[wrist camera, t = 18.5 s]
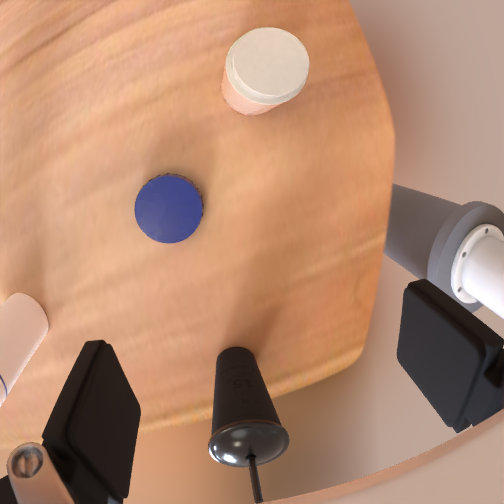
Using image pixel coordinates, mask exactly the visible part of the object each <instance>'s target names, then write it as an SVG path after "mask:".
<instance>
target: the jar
mask: <svg viewBox="0 0 504 504" xmlns="http://www.w3.org/2000/svg"><path fill="white" fill-rule="evenodd" d="M308 72H309V57H308V53H307V51H306V49H305V47H304V45H303V44H302V43H301V41H300V40H299V39H298V38H296V37H295V36H294V35H292V34H291V33H289V32H287V31H285V30H282V29H278V28H272V27H263V28H261V27H260V28H257V29H254V30H250V31H249V32H247V33H246V34H244V35H242V36H241V37H240V38H239V39H237V40H236V41H235V42H234V44H233V45H232V46H231V48H230V49H229V51H228V54H227V57H226V62H225V67H224V72H223V77H222V82H221V91H222V95H223V98H224V100H225V101H226V103H227V104H228V105H229V106H230V107H231V108H232V109H234V110H235V111H237V112H239V113H241V114H245V115H259V114H263V113H265V112H267V111H269V110H271V109H273V108H275V107H277V106H279V105H280V104H282V103H284V102H286V101H288V100H290V99H292V98H293V97H294V96H296V95H297V94H298V93H299V92H300V91H301V90H302V88H303V87H304V85H305V83H306V80H307V76H308Z"/></svg>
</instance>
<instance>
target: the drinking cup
mask: <svg viewBox="0 0 504 504" xmlns="http://www.w3.org/2000/svg"><path fill="white" fill-rule="evenodd" d="M288 445H289V435H288V433H287V431H286V430H285V429H284V428H283V427H282V425H281V423H280V420H279V418H278V416H277V413H276V410H275V408H274V406H273V403H272V401H271V398H270V396H269V393H268V391H267V388H266V386H265V383H264V381H263V378H262V376H261V373H260V371H259V368H258V365H257V363H256V360H255V358H254V356H253V354H252V353H251V352H250V351H249V350H247V349H245V348H241V347H233V348H229V349H226V350H224V351H223V352H222V353H221V354H220V355H219V356H218V358H217V363H216V376H215V390H214V404H213V419H212V435H211V438H210V440H209V443H208V449H209V452H210V454H211V456H212V457H213V458H214V459H215V460H217V461H218V462H220V463H222V464H225V465H228V466H234V467H249V470H250V476H251V482H252V488H253V494H254V499H255V504H257V503H263V498H262V493H261V487H260V482H259V477H258V472H257V467H256V466H259V465H262V464H266V463H268V462H271V461H272V460H275V459H276V458H278V457H279V456H281V455H282V454H283V453H284V452H285V451H286V449H287V447H288Z"/></svg>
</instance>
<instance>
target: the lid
mask: <svg viewBox="0 0 504 504" xmlns="http://www.w3.org/2000/svg"><path fill="white" fill-rule="evenodd" d="M202 209H203V203H202V196H201V195H200V192H199V190H198V188H197V187H196V186H195V185H194V184H193V182H191V181H190V180H189V179H187V178H185V177H183V176H181V175H177V174H169V173H167V174H164V175H161V176H160V175H159V176H157V177H156V178H154V179H151V180H149V182H148V183H147V184H146V185H144V186H143V188H142V189H141V190H140V192H139V194H138V196H137V198H136V202H135V217H136V220H137V223H138V225H139V227H140V228H141V230H142V231H143V232H144V233H145V234H146V235H147V236H149V237H150V238H152V239H153V240H156V241H158V242H162V243H176V242H179V241H182V240H184V239H186V238H187V237H189V236H190V235H191V234H192V233H193V232H194V231H195V230H196V229H197V227H198V225H199V224H200V220H201V217H202V215H203V213H202Z"/></svg>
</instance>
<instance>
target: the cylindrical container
mask: <svg viewBox="0 0 504 504" xmlns="http://www.w3.org/2000/svg"><path fill="white" fill-rule="evenodd" d="M47 332H48V320H47V316H46V314H45V312H44V310H43V309H42V307H41V306H40V305H39V303H38V302H37V301H36V300H34V299H33V298H32V297H30V296H28V295H26V294H23V293H14V294H12V295H11V296H10V297H9V298H8V299H6V300H5V301H4V302H3V303H2V304H1V305H0V407H1V405H2V404H3V402H4V400H5V398H6V397H7V395H8V393H9V392H10V390H11V388H12V387H13V385H14V383H15V382H16V380H17V379H18V377H19V375H20V374H21V372H22V371H23V369H24V367H25V366H26V364H27V363H28V361H29V360H30V358H31V357H32V355H33V354H34V352H35V351H36V349H37V348H38V346H39V345H40V343H41V342H42V340H43V339H44V337H45V336H46V334H47Z"/></svg>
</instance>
